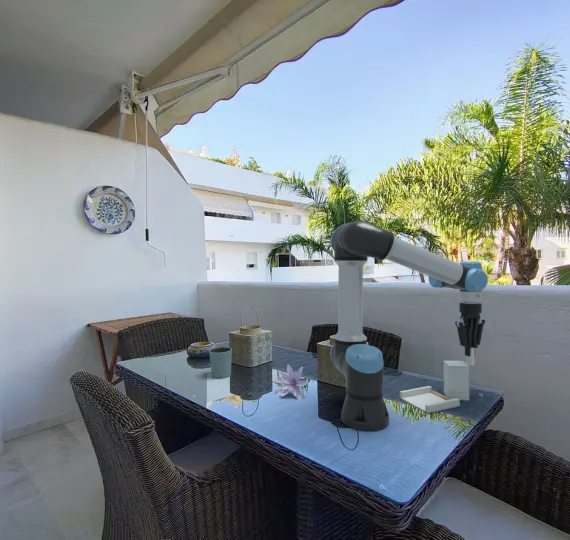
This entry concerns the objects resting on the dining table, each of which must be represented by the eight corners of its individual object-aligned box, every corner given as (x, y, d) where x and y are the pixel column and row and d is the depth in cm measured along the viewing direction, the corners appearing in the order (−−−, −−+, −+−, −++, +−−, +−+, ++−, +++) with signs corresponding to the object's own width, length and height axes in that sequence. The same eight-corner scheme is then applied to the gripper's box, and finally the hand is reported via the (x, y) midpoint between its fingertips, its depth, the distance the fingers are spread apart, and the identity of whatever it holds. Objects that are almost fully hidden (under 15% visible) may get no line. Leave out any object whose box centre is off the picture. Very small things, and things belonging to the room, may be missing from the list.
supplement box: (469, 400, 133) (470, 366, 132) (448, 399, 134) (448, 365, 134) (463, 393, 140) (463, 360, 140) (443, 392, 142) (443, 359, 141)
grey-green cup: (234, 372, 170) (234, 346, 169) (229, 379, 160) (228, 352, 159) (213, 372, 171) (212, 346, 170) (206, 379, 161) (205, 352, 160)
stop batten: (455, 405, 129) (455, 402, 129) (430, 393, 140) (430, 390, 140) (457, 404, 130) (457, 401, 129) (432, 393, 141) (432, 390, 141)
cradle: (427, 413, 123) (427, 406, 123) (399, 398, 137) (399, 391, 136) (459, 406, 128) (459, 399, 128) (429, 392, 142) (429, 385, 142)
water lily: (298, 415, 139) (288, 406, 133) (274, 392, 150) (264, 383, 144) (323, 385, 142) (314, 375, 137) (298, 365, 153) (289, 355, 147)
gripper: (465, 304, 132) (465, 369, 133) (491, 302, 137) (491, 364, 138) (449, 302, 139) (449, 363, 140) (474, 300, 144) (474, 359, 145)
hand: (470, 364), depth 139 cm, fingers closed
